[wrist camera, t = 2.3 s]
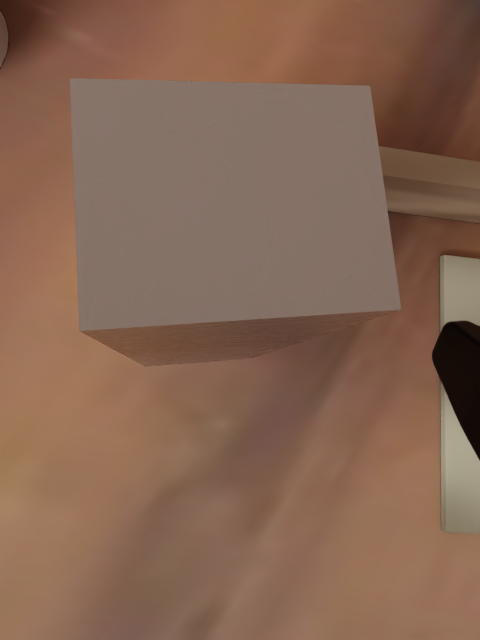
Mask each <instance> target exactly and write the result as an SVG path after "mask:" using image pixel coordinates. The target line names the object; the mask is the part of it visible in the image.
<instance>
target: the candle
mask: <svg viewBox="0 0 480 640" xmlns="http://www.w3.org/2000/svg"><path fill="white" fill-rule="evenodd" d="M8 38H9V35H8V31H7V26H6V21H5V19H4V17H3V15H2V13H1V11H0V67H1V65H2V63H3V61H4V58H5V56H6V54H7V48H8Z"/></svg>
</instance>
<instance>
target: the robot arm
mask: <svg viewBox="0 0 480 640" xmlns="http://www.w3.org/2000/svg"><path fill="white" fill-rule="evenodd" d="M432 359H433V363H434V366H435V368H436V371H437V373H438V375H439V378H440V380H441V382H442V385H443V387H444V389H445V392H446V394H447V396H448V399H449V401H450V403H451V406H452V408H453V410H454V413H455V415H456V417H457V419H458V421H459V424H460V426H461V428H462V430H463V431H464V433H465V435H466V437H467V439H468V441H469V443H470V444H471V446H472V448H473V450H474V451H475V453H476V455H477V457H478V459H479V460H480V326H478V325H476V324H474V323H472V322H470V321H466V320H462V321H450V322H447V323H446V324H445V325H444V326H443V328H442V330H441V333H440V335H439V337H438V340H437V342H436V344H435V347H434V349H433V352H432Z"/></svg>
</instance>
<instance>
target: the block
mask: <svg viewBox="0 0 480 640" xmlns="http://www.w3.org/2000/svg"><path fill="white" fill-rule="evenodd" d="M70 92H71V119H72V146H73V173H74V200H75V227H76V255H77V282H78V309H79V331H80V332H82V333H84V334H86V335H88V336H90V337H91V338H93V339H95V340H97V341H99V342H101V343H103V344H104V345H106V346H108V347H110V348H112V349H114V350H116V351H117V352H119V353H121V354H123V355H125V356H127V357H129V358H130V359H132V360H134V361H136V362H138V363H140V364H142V365H144V366H157V365H170V364H182V363H194V362H207V361H219V360H231V359H244V358H253V357H256V356H259V355H263V354H266V353H269V352H272V351H275V350H278V349H281V348H284V347H287V346H290V345H294V344H297V343H300V342H303V341H306V340H309V339H312V338H315V337H318V336H321V335H324V334H328V333H331V332H334V331H337V330H340V329H343V328H346V327H349V326H352V325H355V324H358V323H362V322H365V321H368V320H371V319H374V318H377V317H380V316H383V315H386V314H389V313H392V312H396V311H399V310H401V303H400V296H399V289H398V282H397V275H396V268H395V260H394V253H393V246H392V239H391V232H390V225H389V217H388V210H387V203H386V196H385V189H384V182H383V174H382V167H381V160H380V153H379V146H378V138H377V131H376V124H375V117H374V110H373V103H372V95H371V88H370V86H365V85H324V84H283V83H242V82H201V81H160V80H119V79H78V78H70Z"/></svg>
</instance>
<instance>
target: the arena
mask: <svg viewBox="0 0 480 640" xmlns="http://www.w3.org/2000/svg"><path fill="white" fill-rule="evenodd" d="M379 153H380V160H381V167H382V174H383V182H384V189H385V196H386V203H387V210H388V211H390V212H398V213H405V214H413V215H420V216H428V217H435V218H443V219H450V220H458V221H465V222H473V223H480V162H479V161H472V160H466V159H459V158H453V157H446V156H440V155H434V154H427V153H421V152H414V151H408V150H401V149H395V148H389V147H382V146H379ZM462 320H466V321H470V322H472V323H474V324H476V325H478V326H480V259H475V258H466V257H458V256H450V255H443V256H440V333H441V330H442V328H443V326H444V325H445V324H446V323H447V322H450V321H462ZM441 530H442V531H444V532H446V533H480V460H479V459H478V457H477V455H476V453H475V451H474V450H473V448H472V446H471V444H470V443H469V441H468V439H467V437H466V435H465V433H464V431H463V430H462V428H461V426H460V424H459V421H458V419H457V417H456V415H455V413H454V410H453V408H452V406H451V403H450V401H449V399H448V396H447V394H446V392H445V389H444V387H443V385H442V382H441Z"/></svg>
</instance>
